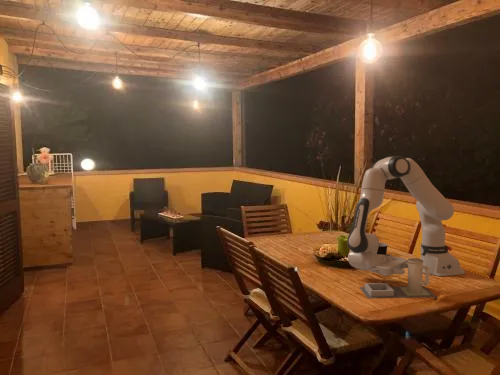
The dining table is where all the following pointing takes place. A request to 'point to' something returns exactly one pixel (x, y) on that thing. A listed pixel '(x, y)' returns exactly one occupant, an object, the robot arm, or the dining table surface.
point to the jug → (417, 275)
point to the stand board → (392, 291)
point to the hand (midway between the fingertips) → (408, 270)
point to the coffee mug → (382, 249)
